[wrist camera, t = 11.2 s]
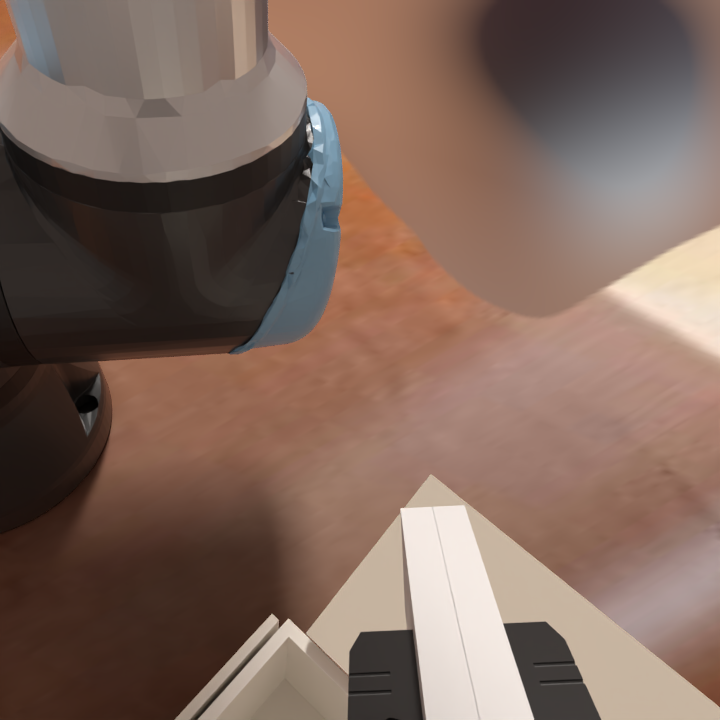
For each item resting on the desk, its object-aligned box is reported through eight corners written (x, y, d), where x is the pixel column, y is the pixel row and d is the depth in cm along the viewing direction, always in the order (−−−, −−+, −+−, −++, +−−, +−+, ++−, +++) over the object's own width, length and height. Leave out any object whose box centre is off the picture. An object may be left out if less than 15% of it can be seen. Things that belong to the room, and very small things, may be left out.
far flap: (430, 473, 26) (431, 474, 26) (305, 633, 25) (308, 631, 26) (756, 737, 22) (751, 733, 22) (614, 934, 21) (612, 927, 22)
